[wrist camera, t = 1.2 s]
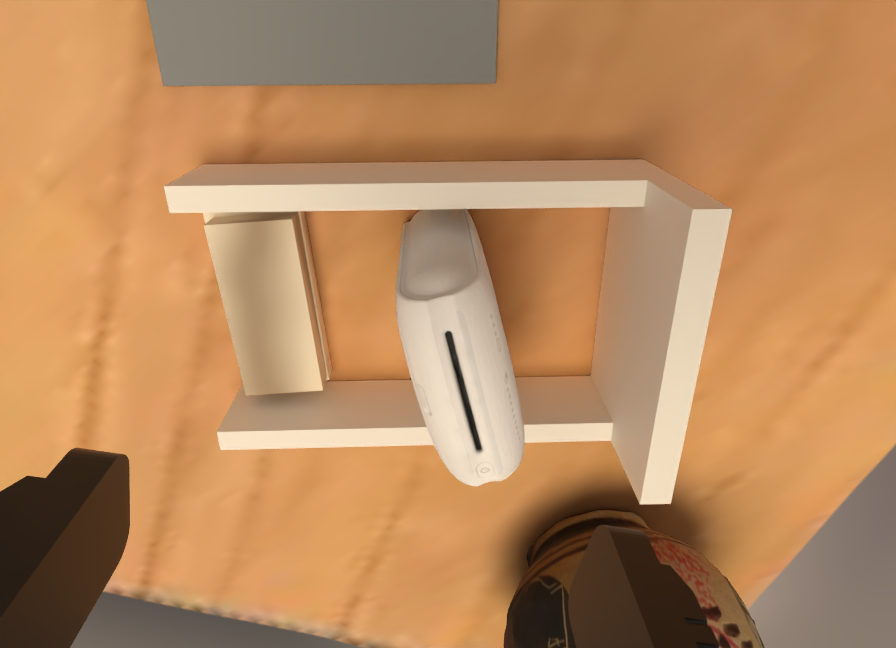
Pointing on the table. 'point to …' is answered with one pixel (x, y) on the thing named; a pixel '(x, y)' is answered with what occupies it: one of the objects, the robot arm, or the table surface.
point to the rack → (541, 398)
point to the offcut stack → (270, 299)
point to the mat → (324, 42)
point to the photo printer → (458, 347)
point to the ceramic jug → (556, 562)
